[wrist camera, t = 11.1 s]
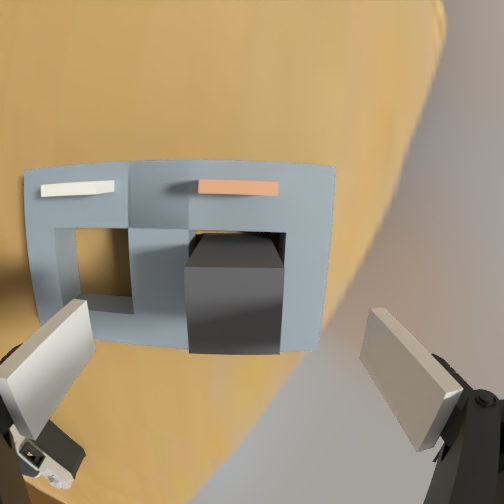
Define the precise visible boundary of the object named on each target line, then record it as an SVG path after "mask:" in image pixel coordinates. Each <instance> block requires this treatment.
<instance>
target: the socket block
mask: <svg viewBox="0 0 504 504" xmlns="http://www.w3.org/2000/svg"><path fill="white" fill-rule="evenodd" d="M335 178H336V167H334V166H323V165H312V164H299V163H284V162H266V161H242V160H144V161H121V162H104V163H90V164H78V165H67V166H57V167H48V168H39V169H31V170H24V210H25V227H26V239H27V249H28V258H29V265H30V273H31V279H32V285H33V291H34V297H35V302H36V307H37V312H38V317H39V321H40V326H41V327H42V326H43V325H44V324H45V323H46V322H47V321H48V320H50V319H51V318H52V317H53V316H54V315H55V314H56V313H58V312H59V311H60V310H61V309H62V308H63V307H65V306H66V305H67V304H68V303H69V302H70V301H72V300H73V299H79V300H87V305H88V312H89V318H90V323H91V329H92V334H93V339H94V340H100V341H107V342H115V343H124V344H132V345H142V346H152V347H163V348H176V349H189V345H188V332H187V318H186V303H185V284H184V266H185V264H186V262H187V261H188V259H189V258H190V256H191V255H192V253H193V251H194V250H195V248H196V230H227V231H258V232H280V236H279V253H278V255H279V257H280V259H281V261H282V263H283V265H284V267H285V275H284V293H283V311H282V327H281V342H280V352H316V351H317V350H318V343H319V337H320V331H321V323H322V316H323V309H324V301H325V293H326V284H327V276H328V266H329V257H330V246H331V235H332V223H333V210H334V195H335ZM75 228H128V239H129V259H130V274H131V287H132V297H127V296H114V295H102V294H90V293H81V285H80V277H79V268H78V258H77V247H76V232H75Z"/></svg>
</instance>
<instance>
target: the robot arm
mask: <svg viewBox="0 0 504 504" xmlns="http://www.w3.org/2000/svg"><path fill="white" fill-rule="evenodd" d="M95 351H96V349H95V344H94V339H93V334H92V329H91V323H90V318H89V312H88V305H87V300H79V299H73V300H72V301H70V302H69V303H68V304H67V305H66V306H65V307H63V308H62V309H61V310H60V311H59V312H58V313H56V314H55V315H54V316H53V317H52V318H51V319H50V320H48V321H47V322H46V323H45V324H44V325H43V326H42V327H41V328H39V329H38V330H37V331H36V332H35V333H34V334H33V335H32V336H31V337H30V338H28V339H27V340H26V341H25V342H24V343H22V344H20V345H18V346H16V347H14V348H13V349H12V350H11V351H10V352H8V353H7V356H6V355H5V356H4V357H3V358H2V359H1V361H0V504H31V501H30V498H29V495H28V492H27V489H26V485H25V482H24V479H23V475H22V472H21V468H20V464H19V460H18V456H17V452H16V447H15V443H14V438H13V435H12V433H11V431H10V428H11V426H12V425H13V424H14V425H15V427H16V429H17V430H18V432H19V434H20V435H22V436H24V437H27V438H29V439H32V440H35V441H36V439H37V437H38V436H39V434H40V433H41V431H42V429H43V428H44V426H45V425H46V423H47V421H48V420H49V418H50V417H51V415H52V414H53V412H54V411H55V409H56V408H57V406H58V405H59V403H60V402H61V400H62V399H63V397H64V396H65V394H66V393H67V391H68V390H69V388H70V387H71V385H72V384H73V382H74V381H75V380H76V378H77V377H78V375H79V374H80V372H81V371H82V369H83V368H84V367H85V365H86V364H87V362H88V361H89V360H90V358H91V357H92V355H93V354H94V353H95ZM360 360H361V361H362V363H363V365H364V366H365V368H366V369H367V371H368V372H369V374H370V375H371V377H372V379H373V381H374V382H375V384H376V385H377V387H378V389H379V390H380V392H381V394H382V395H383V397H384V399H385V400H386V402H387V403H388V405H389V407H390V408H391V410H392V412H393V413H394V415H395V416H396V418H397V420H398V421H399V423H400V425H401V426H402V428H403V430H404V431H405V433H406V435H407V437H408V438H409V440H410V442H411V443H412V445H413V447H414V449H415V450H416V452H419V451H423V450H426V449H429V448H433V447H434V445H435V444H436V442H437V440H438V439H439V437H440V436H441V437H442V439H443V440H444V444H443V446H442V447H441V449H440V451H439V452H438V454H437V455H436V457H435V459H434V460H433V462H436V460H437V459H438V461H437V464H436V468H435V471H434V474H433V478H432V480H431V484H430V486H429V490H428V492H427V495H426V498H425V500H424V503H423V504H504V400H499V399H498V398H497V397H496V396H495V395H494V394H493V393H491V392H490V391H487V390H482V389H478V390H473V389H472V388H471V387H470V386H469V385H468V384H467V383H466V382H465V381H464V380H463V378H462V377H461V376H460V375H459V374H458V373H456V372H455V370H454V369H453V368H450V365H449V364H448V363H447V362H446V361H445V360H444V359H442V358H441V357H439V356H437V355H435V354H430V353H429V352H428V351H427V350H426V349H425V348H424V347H423V346H422V345H421V344H420V343H419V342H418V341H417V340H416V339H415V338H414V337H413V336H412V335H411V334H410V333H409V332H408V331H407V330H406V329H405V328H404V327H403V326H402V325H401V324H400V323H399V322H398V321H397V320H396V319H395V318H394V317H393V316H392V315H391V314H389V312H388V311H387V310H386V309H385V308H370V309H369V315H368V320H367V325H366V330H365V335H364V340H363V344H362V349H361V353H360Z"/></svg>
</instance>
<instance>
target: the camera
mask: <svg viewBox="0 0 504 504" xmlns="http://www.w3.org/2000/svg"><path fill="white" fill-rule="evenodd" d="M10 431H11V433H12V435H13V438H14V443H15V447H16V452H17V456H18V460H19V464H20V468H21V472H22V475H23V476H26V477H30V478H33V479H35V478H38V477H39V476H40V475H41V474H42V475H43V476H44V477H46V478H47V479H48V480H50V484H51V485H53V486H54V487H55V488H57V489H61V488H63V489H68V488H70V486H71V484H72V482H73V480H74V479H75V475H76V473H77V471H78V469H79V467H80V464H81V462H82V460H83V458H84V457H85V456H86V454H85V452H84V449H83V448H82V447H81V446H79V445H78V444H77V443H76V442H75V441H73V440H72V439H71V438H70V437H69V436H67V435H66V434H65V433H64V432H63V431H62V430H60V429H59V428H58V427H57V426H56V425H55V424H54V423H53V422H52V421H50V420H48V421H47V423H46V425H45V426H44V428H43V429H42V431H41V433H40V434H39V436H38V437H37V439H36V441H35V440H32V439H29V438H27V437H24V436H22V435H20V434H19V432H18V430H17V429H16V427H15V425H14V424H13V425H12V426H11V428H10ZM28 452H30V453H31V454H32V455H33V456H28V455H27V454H28Z"/></svg>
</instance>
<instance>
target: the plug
mask: <svg viewBox="0 0 504 504" xmlns="http://www.w3.org/2000/svg"><path fill="white" fill-rule="evenodd" d="M284 275H285V267H284V265H283V263H282V261H281V259H280V257H279V255H278V252H277V250H276V248H275V246H274V244H273V242H272V240H271V238H270V236H269V234H235V233H205V234H204V236H203V237H202V239H201V240H200V242H199V244H198V245H197V247H196V248H195V250H194V251H193V253H192V255H191V256H190V258H189V259H188V261H187V262H186V264H185V266H184V284H185V303H186V318H187V332H188V345H189V353H195V354H228V355H273V354H280V342H281V327H282V311H283V293H284Z"/></svg>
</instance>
